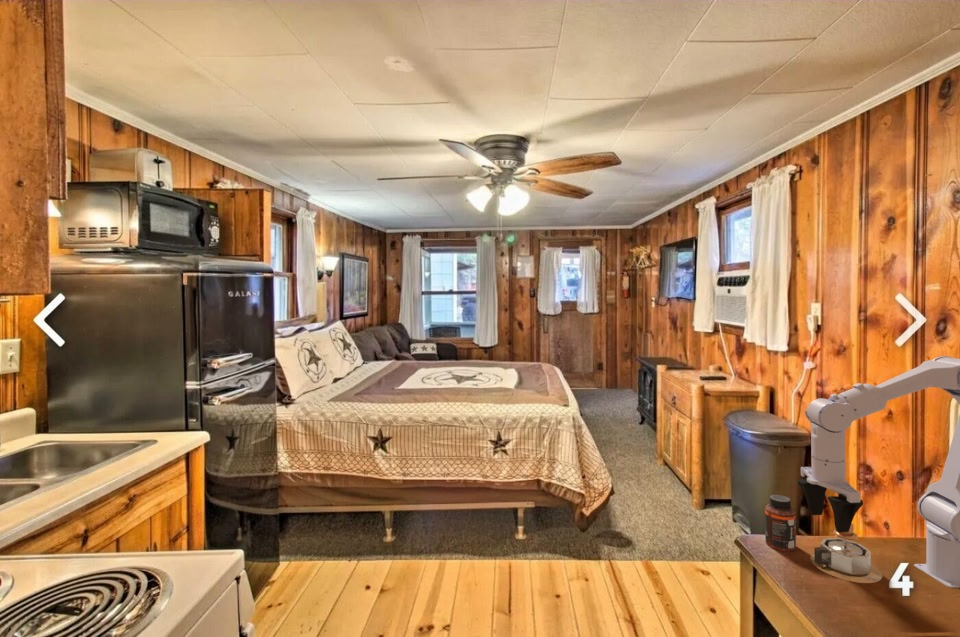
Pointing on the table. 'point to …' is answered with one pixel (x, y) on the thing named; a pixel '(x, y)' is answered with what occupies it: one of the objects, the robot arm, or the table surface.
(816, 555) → the grey octagonal base
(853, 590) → the table surface
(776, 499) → the supplement bottle
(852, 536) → the copper knob
